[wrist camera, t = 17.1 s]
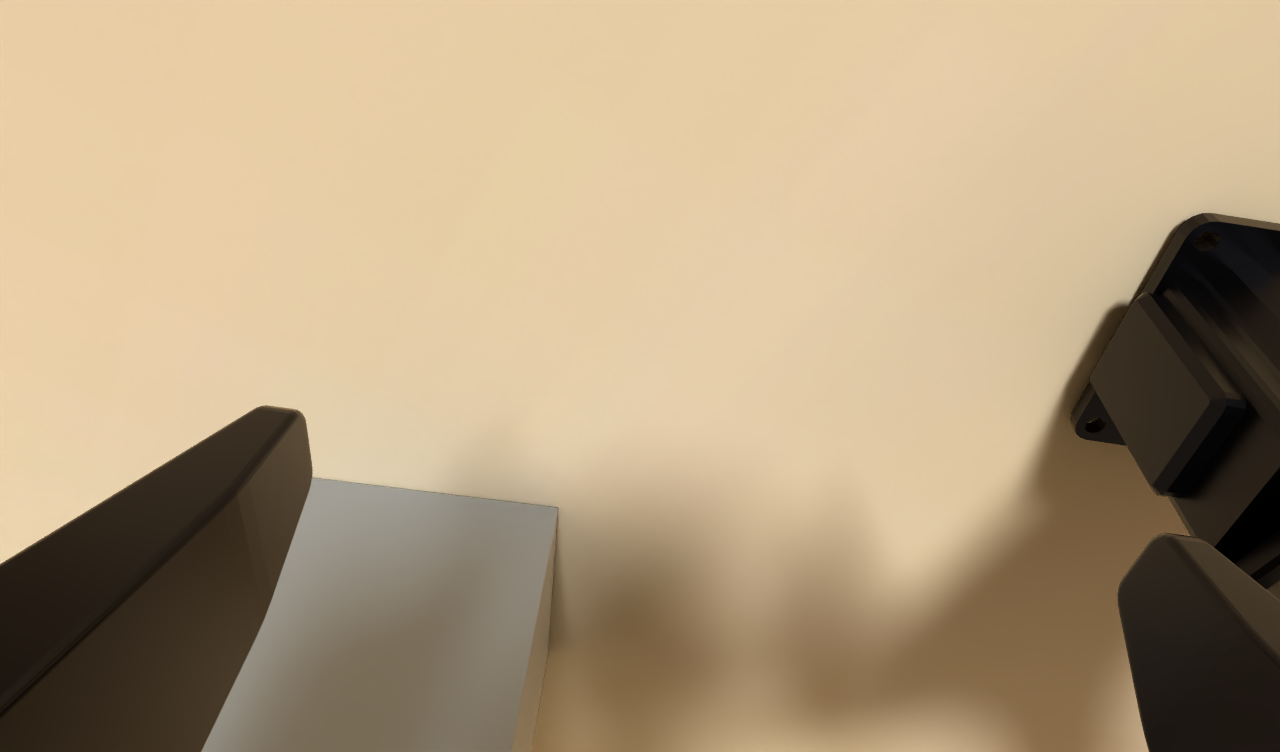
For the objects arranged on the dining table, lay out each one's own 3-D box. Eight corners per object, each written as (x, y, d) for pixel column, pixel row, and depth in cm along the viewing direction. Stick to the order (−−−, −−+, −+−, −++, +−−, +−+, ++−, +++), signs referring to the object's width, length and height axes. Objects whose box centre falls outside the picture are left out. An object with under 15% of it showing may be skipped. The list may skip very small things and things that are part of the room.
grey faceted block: (558, 507, 27) (504, 788, 20) (547, 654, 31) (501, 922, 24) (309, 477, 26) (166, 749, 20) (336, 629, 31) (229, 891, 24)
